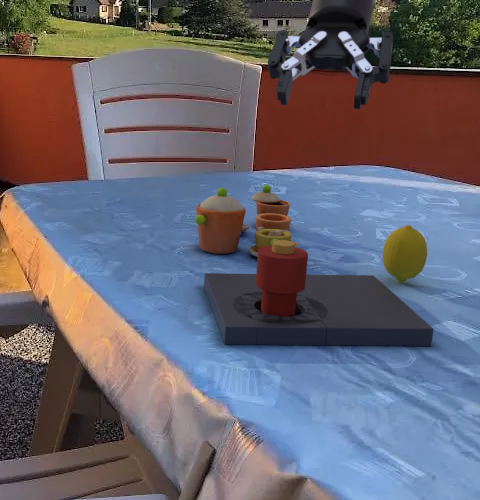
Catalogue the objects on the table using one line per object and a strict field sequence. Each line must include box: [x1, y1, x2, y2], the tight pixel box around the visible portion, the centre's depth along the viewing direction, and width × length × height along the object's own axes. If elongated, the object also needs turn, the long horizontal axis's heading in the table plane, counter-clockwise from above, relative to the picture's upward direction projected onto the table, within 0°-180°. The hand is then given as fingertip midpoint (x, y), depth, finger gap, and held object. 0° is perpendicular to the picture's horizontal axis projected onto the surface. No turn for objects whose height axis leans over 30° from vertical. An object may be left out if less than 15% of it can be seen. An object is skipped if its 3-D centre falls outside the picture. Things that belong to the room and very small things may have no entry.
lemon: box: [382, 224, 428, 284], centre depth 94 cm, size 6×6×8 cm
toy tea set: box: [194, 184, 299, 258], centre depth 113 cm, size 26×16×10 cm, turn 168°
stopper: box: [255, 240, 309, 316], centre depth 79 cm, size 5×5×10 cm
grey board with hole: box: [203, 272, 434, 347], centre depth 83 cm, size 22×18×2 cm
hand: (319, 102), depth 83 cm, fingers open, 8 cm apart
